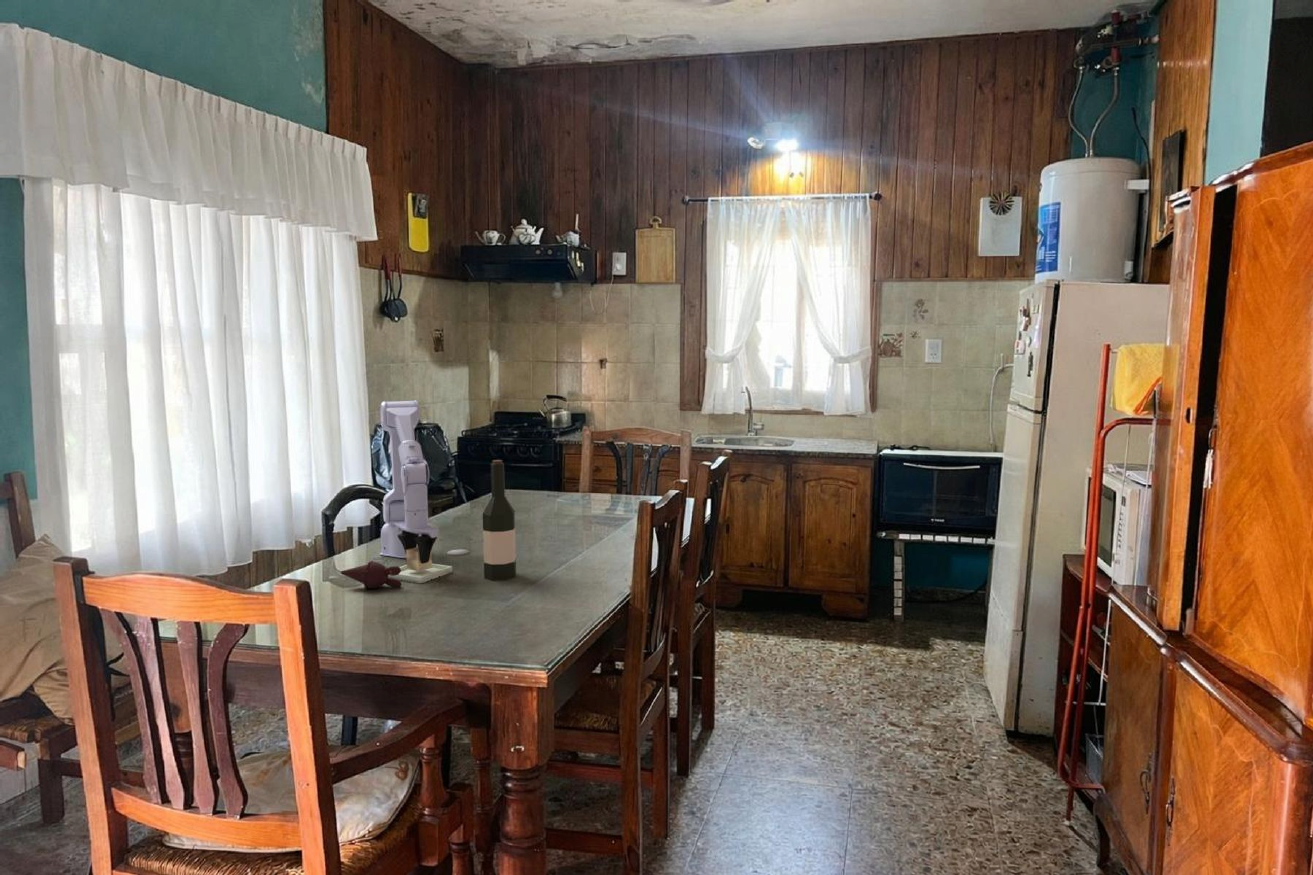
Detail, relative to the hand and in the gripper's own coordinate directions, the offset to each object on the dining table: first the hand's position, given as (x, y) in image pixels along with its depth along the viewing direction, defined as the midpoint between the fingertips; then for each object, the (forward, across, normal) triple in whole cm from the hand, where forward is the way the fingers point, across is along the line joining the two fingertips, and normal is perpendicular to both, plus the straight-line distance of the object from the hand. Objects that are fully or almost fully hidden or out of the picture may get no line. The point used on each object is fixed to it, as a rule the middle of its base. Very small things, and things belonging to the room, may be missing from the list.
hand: (418, 561), depth 222 cm
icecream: (+4, 0, +14) cm, 15 cm away
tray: (+4, 0, 0) cm, 4 cm away
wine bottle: (+4, -19, -11) cm, 22 cm away
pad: (+4, +9, -22) cm, 24 cm away
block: (+2, 0, 0) cm, 2 cm away
